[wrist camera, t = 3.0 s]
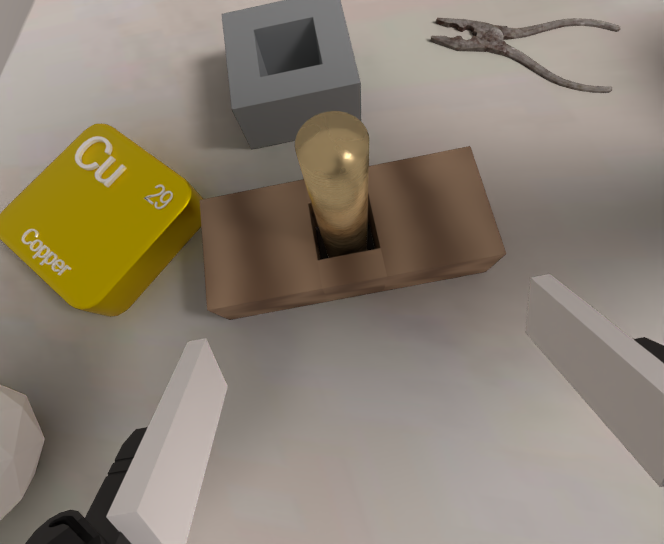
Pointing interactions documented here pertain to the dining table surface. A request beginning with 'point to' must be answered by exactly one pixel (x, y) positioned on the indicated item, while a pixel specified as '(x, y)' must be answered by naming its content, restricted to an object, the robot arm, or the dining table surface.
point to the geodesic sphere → (17, 447)
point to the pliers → (492, 41)
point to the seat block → (289, 67)
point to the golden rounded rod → (336, 178)
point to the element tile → (101, 221)
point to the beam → (358, 268)
